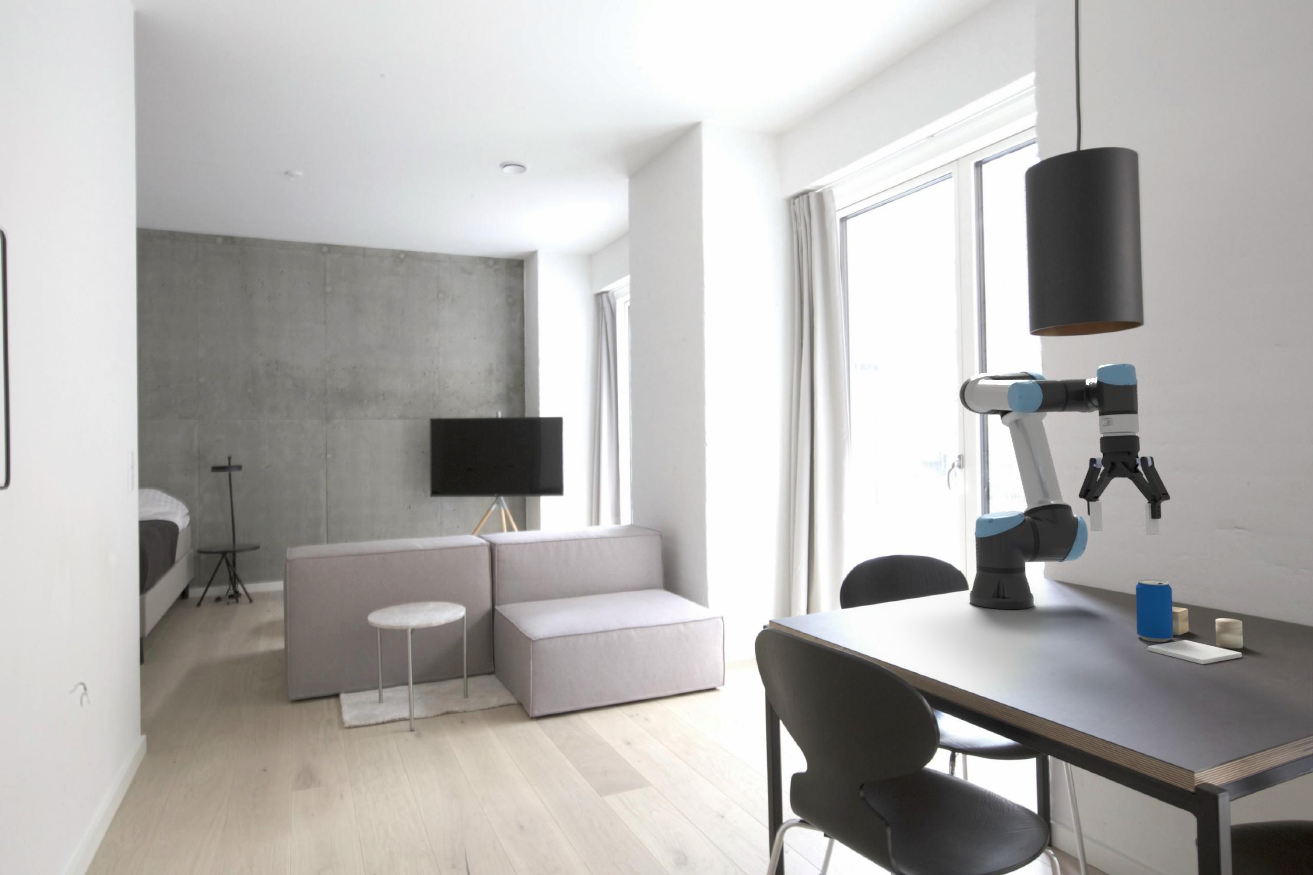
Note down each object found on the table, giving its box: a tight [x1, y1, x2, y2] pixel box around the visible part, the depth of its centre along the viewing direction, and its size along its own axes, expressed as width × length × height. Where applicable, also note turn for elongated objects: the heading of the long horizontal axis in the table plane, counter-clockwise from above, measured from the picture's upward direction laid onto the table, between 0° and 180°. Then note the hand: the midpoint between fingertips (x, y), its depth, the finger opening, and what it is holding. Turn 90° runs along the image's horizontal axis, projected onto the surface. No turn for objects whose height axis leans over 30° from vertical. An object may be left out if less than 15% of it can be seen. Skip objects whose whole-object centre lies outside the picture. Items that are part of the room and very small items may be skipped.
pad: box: [1147, 639, 1243, 665], centre depth 157 cm, size 11×11×1 cm
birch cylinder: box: [1215, 617, 1244, 649], centre depth 162 cm, size 4×4×5 cm
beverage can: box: [1135, 578, 1174, 643], centre depth 168 cm, size 6×6×12 cm
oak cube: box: [1172, 606, 1190, 636], centre depth 175 cm, size 5×5×5 cm
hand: (1123, 532), depth 174 cm, fingers open, 13 cm apart
